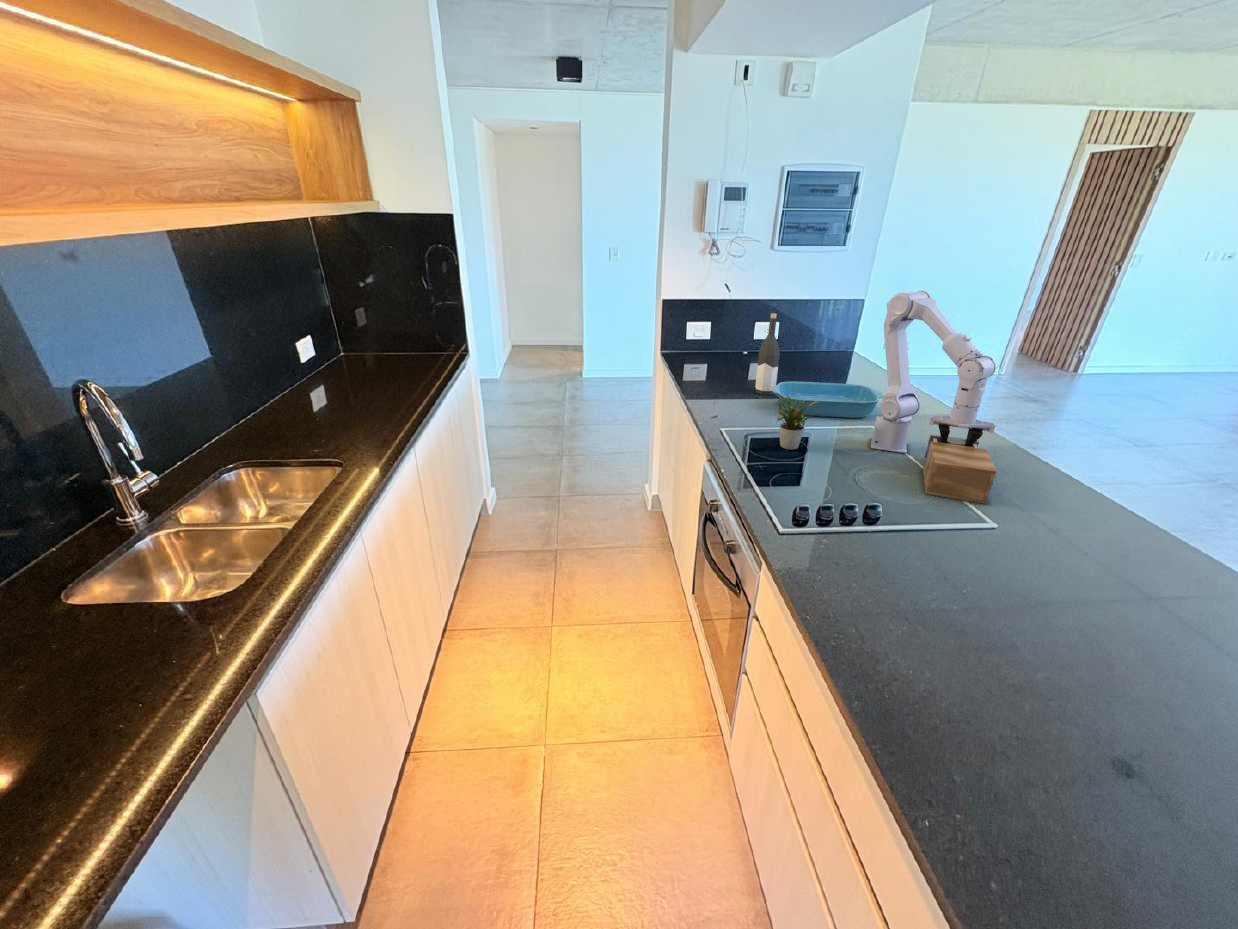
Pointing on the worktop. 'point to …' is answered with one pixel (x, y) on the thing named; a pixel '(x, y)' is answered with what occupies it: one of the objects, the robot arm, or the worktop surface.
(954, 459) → the wooden box
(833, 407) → the casserole dish
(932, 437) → the drawer
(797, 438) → the house plant
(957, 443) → the jar
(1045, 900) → the worktop surface
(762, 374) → the wine bottle
